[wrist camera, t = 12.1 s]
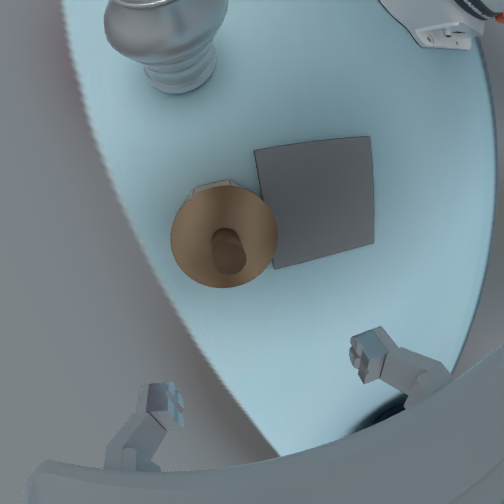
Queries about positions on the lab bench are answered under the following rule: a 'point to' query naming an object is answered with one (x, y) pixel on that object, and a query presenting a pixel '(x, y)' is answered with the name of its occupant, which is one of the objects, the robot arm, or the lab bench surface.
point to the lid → (224, 236)
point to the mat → (318, 197)
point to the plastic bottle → (167, 38)
